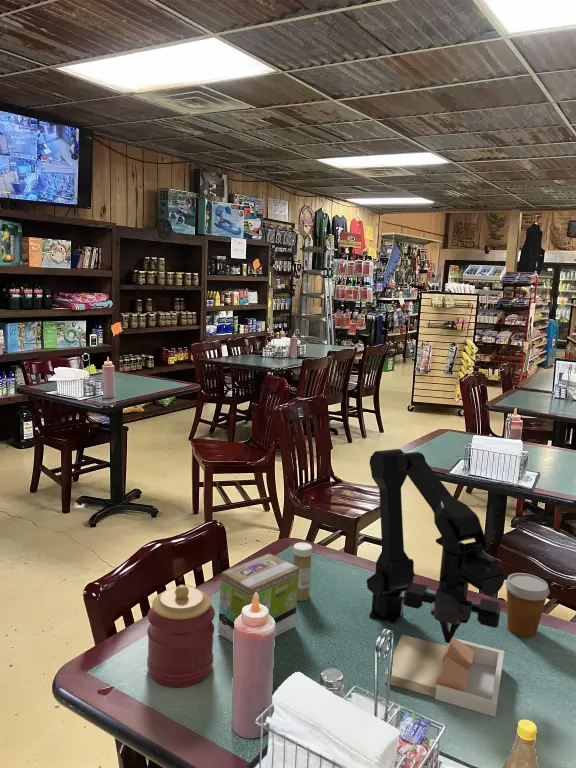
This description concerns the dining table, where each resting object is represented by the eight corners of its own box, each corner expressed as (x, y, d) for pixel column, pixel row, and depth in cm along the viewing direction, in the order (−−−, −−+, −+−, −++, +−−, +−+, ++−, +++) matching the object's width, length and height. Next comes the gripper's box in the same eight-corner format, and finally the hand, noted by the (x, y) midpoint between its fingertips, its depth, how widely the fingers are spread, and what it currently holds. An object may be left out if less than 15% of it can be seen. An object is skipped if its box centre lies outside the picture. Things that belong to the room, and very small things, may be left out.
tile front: (435, 682, 122) (442, 670, 121) (440, 667, 126) (446, 656, 125) (458, 697, 120) (466, 686, 119) (463, 683, 125) (470, 671, 124)
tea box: (248, 654, 131) (251, 588, 129) (217, 634, 138) (219, 571, 135) (297, 627, 142) (300, 565, 140) (265, 609, 149) (268, 550, 146)
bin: (435, 699, 120) (436, 680, 120) (448, 654, 135) (449, 637, 134) (495, 716, 116) (497, 697, 115) (502, 668, 131) (504, 651, 130)
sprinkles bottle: (306, 591, 158) (309, 541, 156) (311, 601, 154) (314, 549, 151) (289, 592, 157) (291, 542, 155) (293, 602, 153) (296, 550, 150)
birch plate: (384, 682, 124) (385, 673, 124) (401, 642, 138) (402, 634, 138) (435, 697, 121) (436, 688, 120) (447, 655, 134) (448, 646, 134)
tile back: (441, 660, 129) (448, 649, 128) (446, 647, 133) (452, 636, 132) (464, 674, 127) (471, 663, 126) (467, 661, 132) (474, 650, 131)
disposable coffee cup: (520, 645, 139) (527, 595, 137) (491, 623, 148) (496, 575, 146) (553, 637, 143) (559, 588, 141) (522, 615, 152) (528, 569, 150)
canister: (216, 650, 132) (219, 571, 129) (208, 690, 119) (211, 604, 116) (154, 647, 132) (155, 568, 129) (139, 687, 119) (140, 601, 116)
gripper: (400, 577, 124) (394, 650, 126) (500, 600, 117) (491, 677, 119) (412, 555, 134) (406, 623, 136) (504, 575, 127) (496, 646, 129)
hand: (447, 642), depth 130 cm, fingers closed
